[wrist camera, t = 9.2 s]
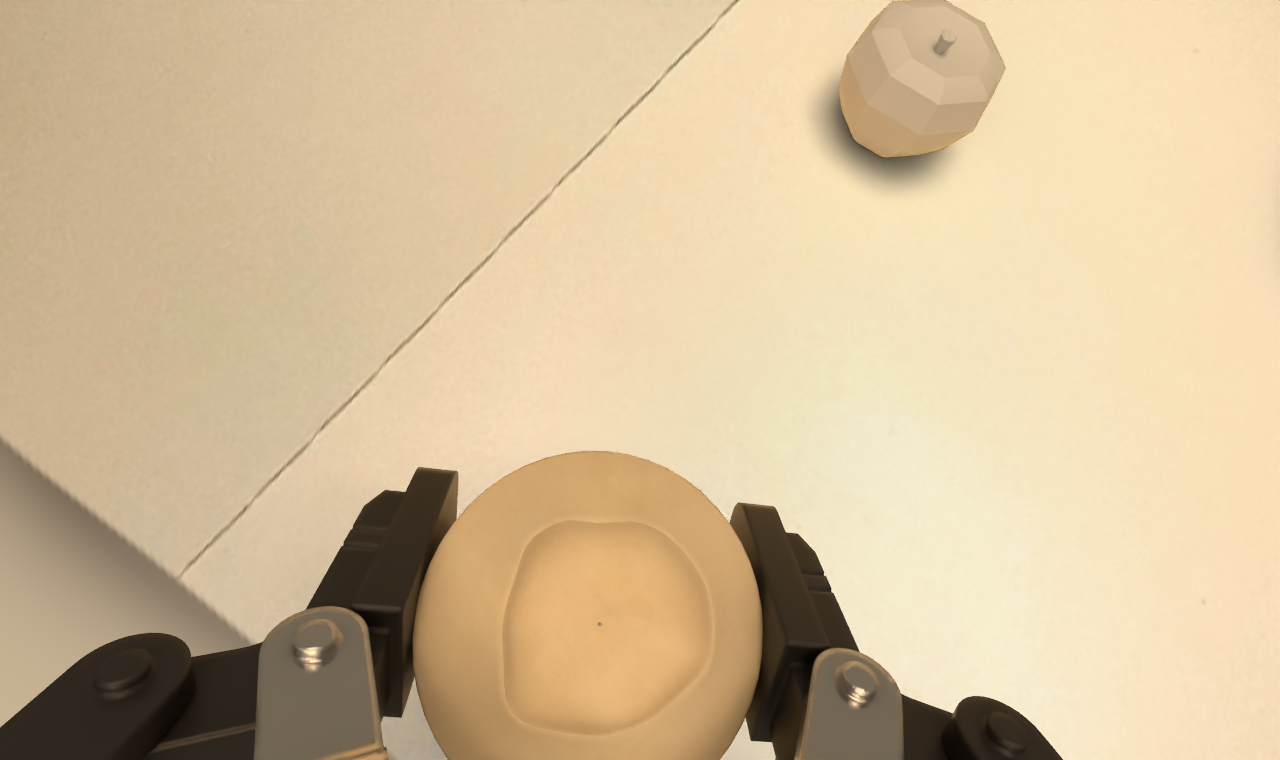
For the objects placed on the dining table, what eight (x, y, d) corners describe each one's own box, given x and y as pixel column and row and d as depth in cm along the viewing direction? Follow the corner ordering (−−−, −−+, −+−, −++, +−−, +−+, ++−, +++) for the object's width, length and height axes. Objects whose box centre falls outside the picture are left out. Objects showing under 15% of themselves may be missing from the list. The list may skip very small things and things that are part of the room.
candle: (536, 766, 16) (537, 991, 7) (432, 584, 17) (312, 570, 8) (700, 636, 18) (876, 679, 9) (596, 478, 19) (655, 364, 10)
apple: (808, 169, 34) (867, 75, 28) (818, 62, 37) (874, -45, 31) (945, 203, 35) (1031, 119, 29) (945, 95, 37) (1024, -3, 31)
